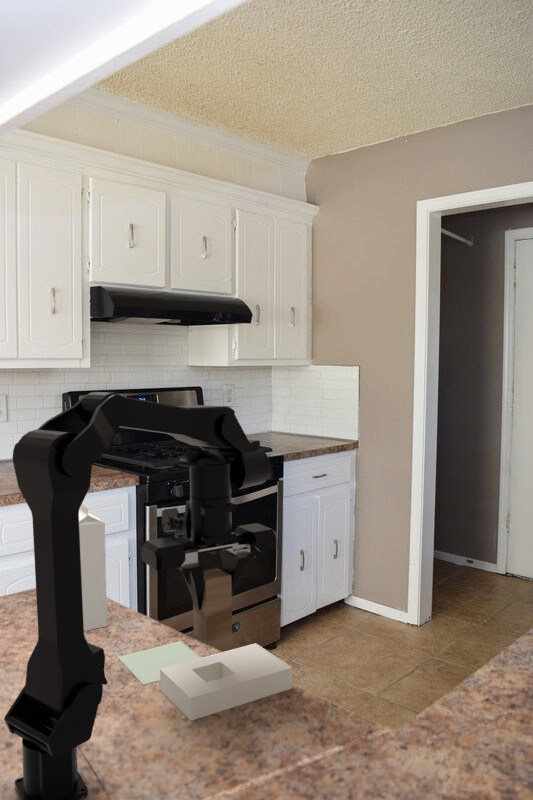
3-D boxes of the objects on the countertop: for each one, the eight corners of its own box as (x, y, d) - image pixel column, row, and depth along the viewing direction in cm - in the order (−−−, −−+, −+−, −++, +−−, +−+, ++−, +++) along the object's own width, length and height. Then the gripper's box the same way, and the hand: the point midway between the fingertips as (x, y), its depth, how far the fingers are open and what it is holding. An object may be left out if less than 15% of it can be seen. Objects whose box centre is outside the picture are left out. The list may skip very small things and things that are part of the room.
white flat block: (292, 691, 97) (292, 667, 97) (190, 724, 89) (190, 697, 88) (256, 665, 105) (255, 643, 105) (160, 692, 97) (159, 668, 97)
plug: (232, 638, 95) (231, 575, 94) (206, 645, 93) (205, 580, 92) (218, 629, 98) (217, 568, 98) (193, 635, 96) (192, 572, 96)
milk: (73, 633, 119) (69, 509, 117) (65, 622, 124) (61, 502, 122) (108, 626, 122) (104, 504, 120) (98, 615, 127) (95, 498, 125)
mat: (211, 669, 104) (211, 665, 104) (143, 688, 98) (143, 684, 98) (180, 644, 113) (180, 641, 113) (117, 660, 108) (117, 656, 108)
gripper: (239, 480, 106) (241, 578, 107) (125, 493, 96) (128, 601, 97) (279, 491, 97) (280, 599, 98) (156, 507, 87) (159, 627, 88)
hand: (212, 605), depth 95 cm, fingers closed on plug, 4 cm apart
